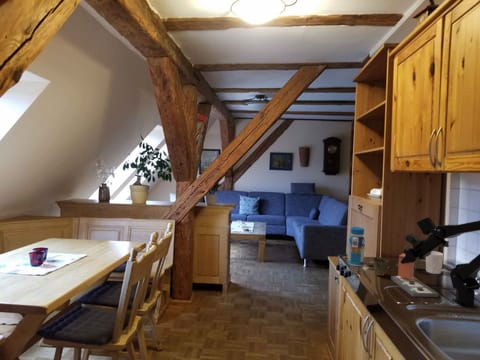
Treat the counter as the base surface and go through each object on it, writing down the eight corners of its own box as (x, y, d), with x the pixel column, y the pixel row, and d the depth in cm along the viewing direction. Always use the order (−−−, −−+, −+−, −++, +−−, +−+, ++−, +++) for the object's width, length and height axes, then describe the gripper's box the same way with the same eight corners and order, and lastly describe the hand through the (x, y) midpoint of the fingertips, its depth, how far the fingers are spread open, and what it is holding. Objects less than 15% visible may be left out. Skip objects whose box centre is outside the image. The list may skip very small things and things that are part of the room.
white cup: (426, 268, 179) (427, 250, 178) (443, 271, 174) (444, 253, 174) (423, 271, 173) (424, 253, 172) (440, 275, 168) (442, 256, 167)
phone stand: (396, 268, 177) (398, 246, 176) (397, 265, 182) (398, 244, 181) (416, 271, 173) (417, 249, 172) (416, 268, 178) (417, 246, 177)
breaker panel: (438, 297, 141) (438, 291, 141) (412, 296, 141) (413, 290, 141) (413, 279, 161) (413, 274, 161) (390, 279, 161) (391, 274, 161)
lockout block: (408, 278, 154) (410, 257, 154) (397, 275, 158) (399, 255, 158) (413, 276, 158) (414, 255, 157) (402, 273, 162) (403, 253, 161)
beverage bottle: (344, 262, 185) (346, 226, 184) (357, 261, 188) (359, 226, 186) (353, 267, 177) (355, 230, 176) (367, 266, 180) (369, 229, 178)
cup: (385, 273, 169) (386, 257, 169) (390, 278, 162) (391, 262, 162) (370, 272, 170) (371, 256, 170) (374, 277, 163) (375, 261, 162)
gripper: (425, 226, 160) (400, 244, 169) (409, 231, 147) (383, 250, 156) (442, 246, 154) (416, 263, 163) (427, 253, 142) (399, 271, 151)
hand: (403, 261), depth 159 cm, fingers closed on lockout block, 5 cm apart
